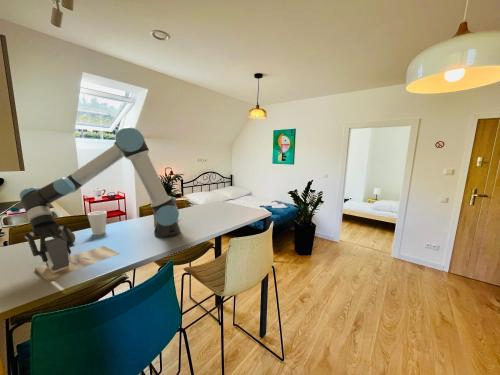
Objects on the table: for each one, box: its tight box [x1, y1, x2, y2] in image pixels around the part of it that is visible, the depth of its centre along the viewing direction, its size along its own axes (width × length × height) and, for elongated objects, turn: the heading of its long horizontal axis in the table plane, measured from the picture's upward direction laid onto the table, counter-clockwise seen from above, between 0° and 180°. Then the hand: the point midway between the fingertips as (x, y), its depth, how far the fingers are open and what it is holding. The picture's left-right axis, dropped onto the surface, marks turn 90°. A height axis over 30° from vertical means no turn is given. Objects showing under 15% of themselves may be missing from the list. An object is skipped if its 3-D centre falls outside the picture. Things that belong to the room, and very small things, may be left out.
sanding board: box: [34, 245, 120, 283], centre depth 95 cm, size 26×16×1 cm, turn 149°
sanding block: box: [44, 238, 69, 273], centre depth 88 cm, size 8×5×11 cm, turn 59°
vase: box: [59, 228, 76, 244], centre depth 113 cm, size 7×7×9 cm
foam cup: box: [87, 210, 108, 236], centre depth 130 cm, size 10×9×13 cm
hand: (60, 264), depth 86 cm, fingers closed on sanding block, 5 cm apart
